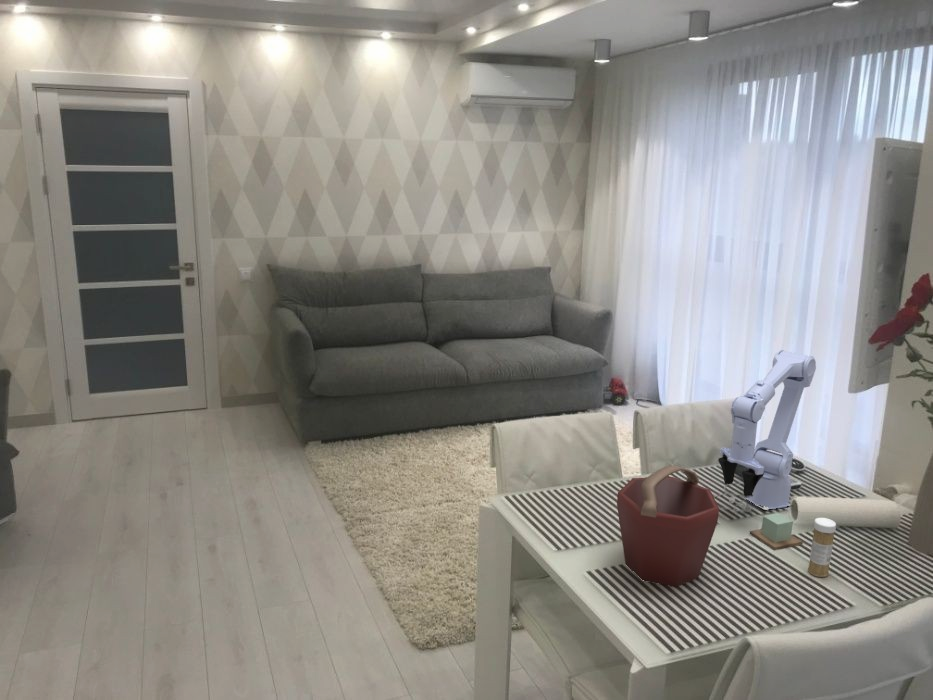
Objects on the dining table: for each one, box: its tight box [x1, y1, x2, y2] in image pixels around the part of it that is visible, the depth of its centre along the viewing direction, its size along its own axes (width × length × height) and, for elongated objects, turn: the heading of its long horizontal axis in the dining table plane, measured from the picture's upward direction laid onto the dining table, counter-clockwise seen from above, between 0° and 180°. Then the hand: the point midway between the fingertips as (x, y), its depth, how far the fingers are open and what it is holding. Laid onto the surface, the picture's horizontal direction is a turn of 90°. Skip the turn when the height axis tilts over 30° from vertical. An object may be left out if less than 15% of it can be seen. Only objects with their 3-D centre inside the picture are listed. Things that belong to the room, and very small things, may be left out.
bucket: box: [616, 464, 720, 588], centre depth 175 cm, size 24×22×25 cm
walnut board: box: [749, 528, 804, 551], centre depth 192 cm, size 9×9×1 cm
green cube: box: [761, 512, 794, 543], centre depth 191 cm, size 5×5×5 cm
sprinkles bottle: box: [807, 517, 837, 578], centre depth 174 cm, size 5×5×13 cm
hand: (738, 489), depth 199 cm, fingers open, 7 cm apart
